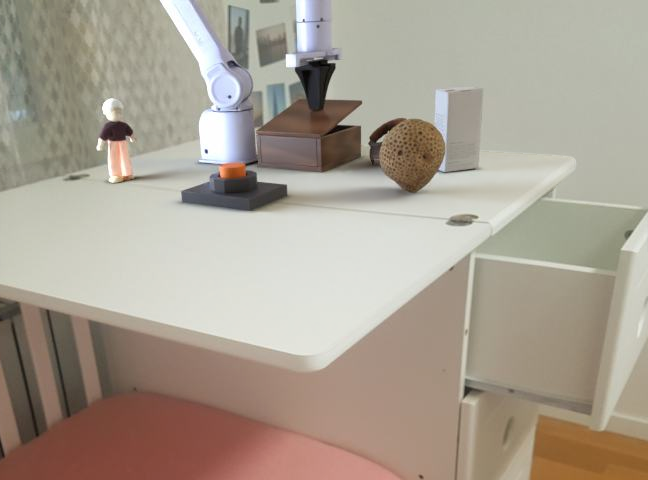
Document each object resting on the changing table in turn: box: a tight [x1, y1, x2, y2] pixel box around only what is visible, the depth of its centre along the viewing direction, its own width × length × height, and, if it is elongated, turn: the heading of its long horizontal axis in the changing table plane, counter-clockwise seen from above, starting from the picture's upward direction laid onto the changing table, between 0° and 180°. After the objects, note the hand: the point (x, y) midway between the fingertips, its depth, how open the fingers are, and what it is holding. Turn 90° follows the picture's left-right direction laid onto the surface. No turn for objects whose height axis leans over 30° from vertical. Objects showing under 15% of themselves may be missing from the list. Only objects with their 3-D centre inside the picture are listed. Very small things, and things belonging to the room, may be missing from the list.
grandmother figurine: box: [96, 97, 138, 184], centre depth 115 cm, size 8×4×13 cm, turn 152°
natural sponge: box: [379, 118, 445, 193], centre depth 98 cm, size 9×9×10 cm
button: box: [219, 162, 247, 178], centre depth 100 cm, size 4×4×2 cm
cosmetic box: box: [434, 85, 484, 173], centre depth 110 cm, size 6×4×12 cm
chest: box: [255, 124, 362, 173], centre depth 122 cm, size 14×13×5 cm
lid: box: [255, 98, 363, 138], centre depth 120 cm, size 14×13×1 cm
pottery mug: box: [367, 117, 408, 166], centre depth 118 cm, size 12×10×8 cm
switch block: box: [180, 169, 288, 212], centre depth 100 cm, size 12×9×4 cm
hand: (316, 109), depth 122 cm, fingers closed
